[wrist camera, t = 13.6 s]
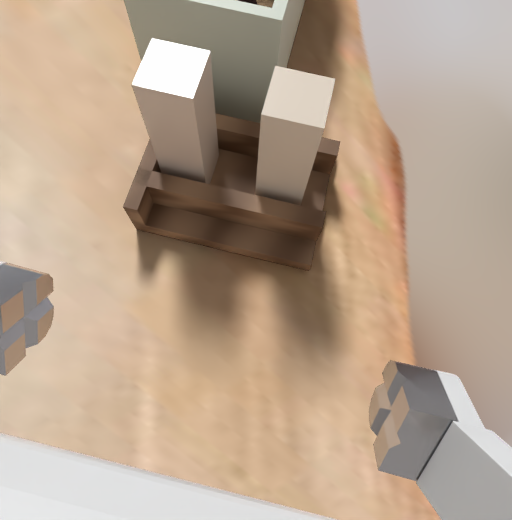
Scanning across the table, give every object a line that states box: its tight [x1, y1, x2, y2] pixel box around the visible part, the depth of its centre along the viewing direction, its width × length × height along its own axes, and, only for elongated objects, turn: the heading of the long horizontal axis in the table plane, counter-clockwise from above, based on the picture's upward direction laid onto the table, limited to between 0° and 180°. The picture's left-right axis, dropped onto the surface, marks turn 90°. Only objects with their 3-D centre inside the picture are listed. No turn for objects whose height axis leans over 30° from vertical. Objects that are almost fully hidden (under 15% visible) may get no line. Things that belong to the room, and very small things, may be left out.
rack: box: [123, 113, 340, 270], centre depth 36 cm, size 16×13×4 cm
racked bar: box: [132, 38, 219, 184], centre depth 32 cm, size 4×4×12 cm
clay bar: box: [255, 66, 335, 205], centre depth 31 cm, size 4×4×12 cm
